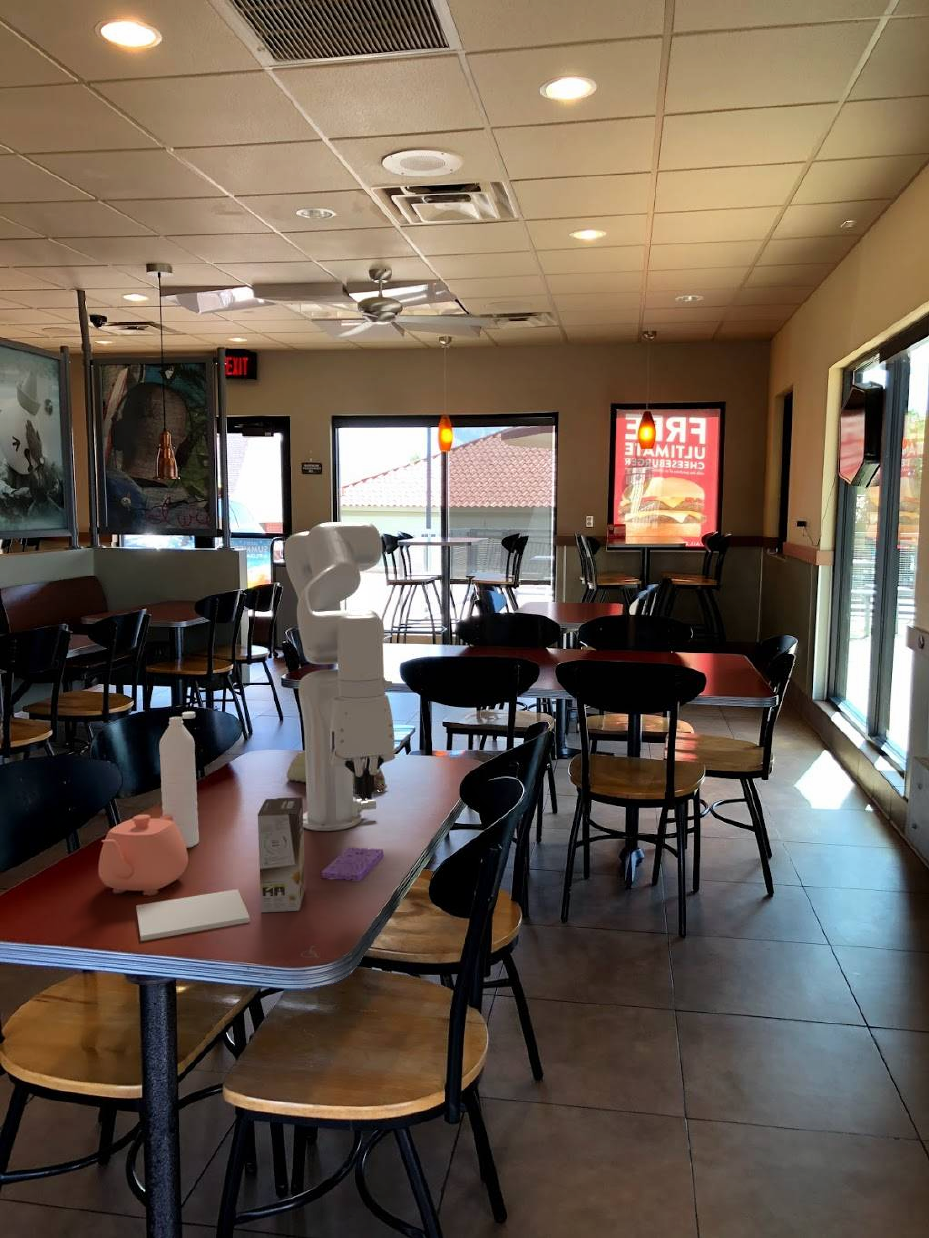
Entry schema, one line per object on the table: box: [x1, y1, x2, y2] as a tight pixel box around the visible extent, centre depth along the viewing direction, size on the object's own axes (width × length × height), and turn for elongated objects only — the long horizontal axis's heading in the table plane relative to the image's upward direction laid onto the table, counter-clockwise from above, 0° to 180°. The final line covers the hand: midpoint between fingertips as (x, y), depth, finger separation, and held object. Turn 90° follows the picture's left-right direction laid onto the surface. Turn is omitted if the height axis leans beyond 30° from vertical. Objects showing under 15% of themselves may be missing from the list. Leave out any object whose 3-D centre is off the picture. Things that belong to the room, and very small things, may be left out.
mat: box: [135, 888, 251, 942], centre depth 145 cm, size 16×12×1 cm
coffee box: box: [257, 797, 306, 913], centre depth 150 cm, size 9×6×16 cm
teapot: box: [98, 814, 189, 897], centre depth 157 cm, size 13×20×12 cm, turn 167°
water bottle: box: [158, 711, 200, 849], centre depth 178 cm, size 9×6×25 cm
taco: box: [286, 751, 388, 792], centre depth 217 cm, size 10×27×10 cm, turn 63°
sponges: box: [321, 846, 384, 882], centre depth 165 cm, size 7×13×2 cm, turn 166°
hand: (364, 797), depth 154 cm, fingers closed
